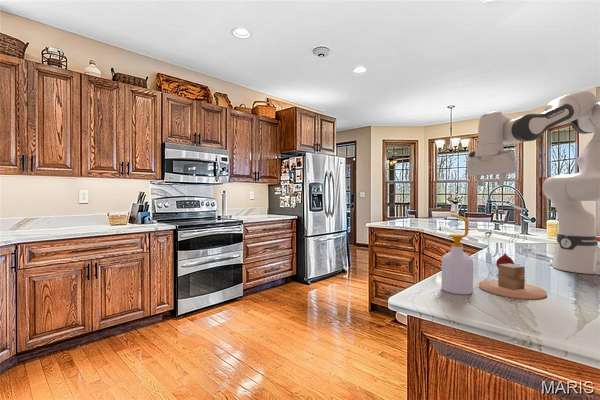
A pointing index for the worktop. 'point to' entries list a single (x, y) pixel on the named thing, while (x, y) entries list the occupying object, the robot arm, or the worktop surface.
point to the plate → (525, 293)
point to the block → (511, 276)
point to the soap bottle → (457, 266)
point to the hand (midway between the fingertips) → (489, 186)
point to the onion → (504, 260)
